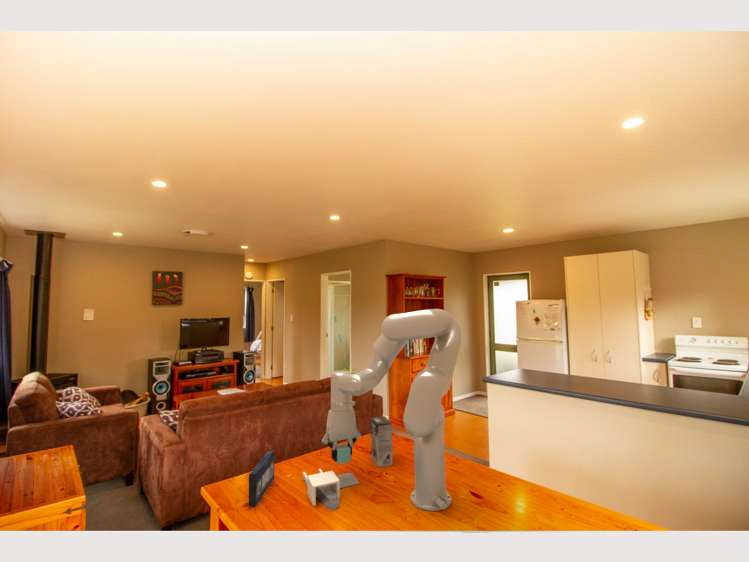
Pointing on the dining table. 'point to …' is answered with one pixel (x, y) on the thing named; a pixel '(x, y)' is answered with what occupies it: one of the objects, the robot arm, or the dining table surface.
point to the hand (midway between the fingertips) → (341, 458)
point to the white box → (321, 483)
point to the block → (343, 453)
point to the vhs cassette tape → (261, 478)
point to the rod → (327, 497)
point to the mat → (347, 480)
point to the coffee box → (381, 441)
